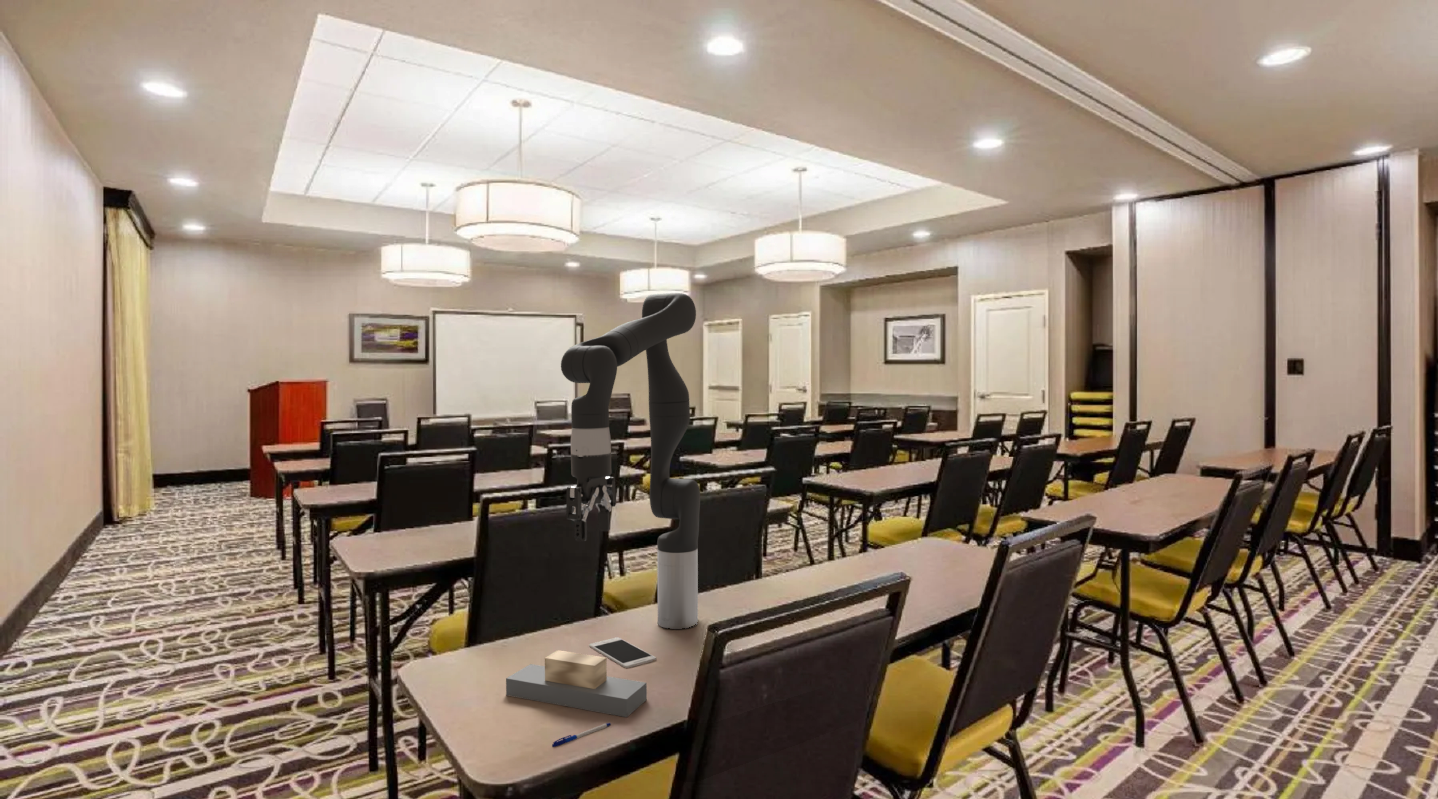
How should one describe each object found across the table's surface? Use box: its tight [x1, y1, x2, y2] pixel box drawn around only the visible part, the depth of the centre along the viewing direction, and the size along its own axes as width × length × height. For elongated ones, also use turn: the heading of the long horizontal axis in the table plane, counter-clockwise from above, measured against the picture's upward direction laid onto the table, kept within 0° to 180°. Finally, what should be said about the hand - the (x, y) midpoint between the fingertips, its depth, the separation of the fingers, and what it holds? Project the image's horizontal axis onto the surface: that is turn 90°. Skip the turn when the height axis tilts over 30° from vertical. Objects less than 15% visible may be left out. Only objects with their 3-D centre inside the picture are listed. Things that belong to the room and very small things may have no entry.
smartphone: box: [588, 636, 657, 669], centre depth 150 cm, size 7×16×1 cm, turn 38°
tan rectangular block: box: [544, 649, 608, 689], centre depth 128 cm, size 10×4×7 cm, turn 69°
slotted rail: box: [505, 663, 648, 718], centre depth 128 cm, size 24×7×3 cm, turn 69°
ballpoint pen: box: [551, 722, 612, 748], centre depth 114 cm, size 10×1×1 cm, turn 135°
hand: (592, 535), depth 140 cm, fingers open, 8 cm apart
